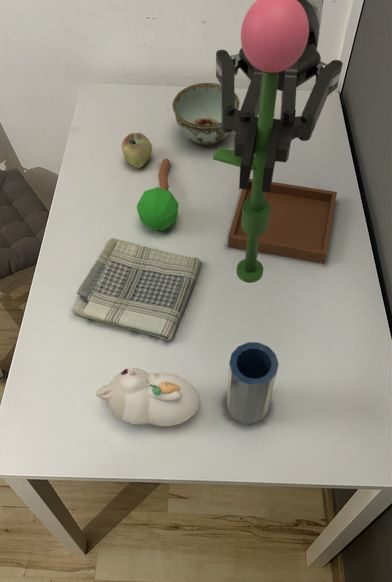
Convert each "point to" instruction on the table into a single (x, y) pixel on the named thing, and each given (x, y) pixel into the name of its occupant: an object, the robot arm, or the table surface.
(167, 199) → the tree
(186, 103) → the bowl
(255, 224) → the flower
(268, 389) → the vase
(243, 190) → the tray
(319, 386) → the table surface
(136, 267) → the dish towel
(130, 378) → the cat figurine
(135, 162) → the apple
